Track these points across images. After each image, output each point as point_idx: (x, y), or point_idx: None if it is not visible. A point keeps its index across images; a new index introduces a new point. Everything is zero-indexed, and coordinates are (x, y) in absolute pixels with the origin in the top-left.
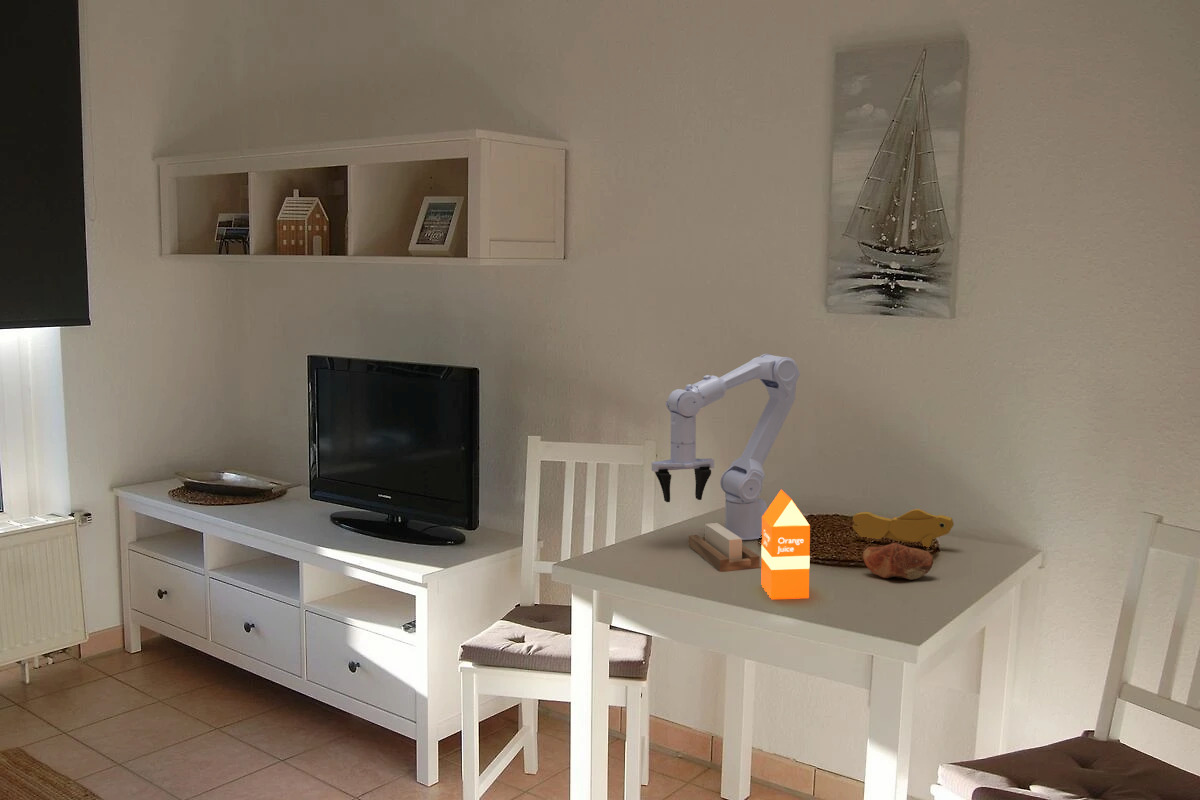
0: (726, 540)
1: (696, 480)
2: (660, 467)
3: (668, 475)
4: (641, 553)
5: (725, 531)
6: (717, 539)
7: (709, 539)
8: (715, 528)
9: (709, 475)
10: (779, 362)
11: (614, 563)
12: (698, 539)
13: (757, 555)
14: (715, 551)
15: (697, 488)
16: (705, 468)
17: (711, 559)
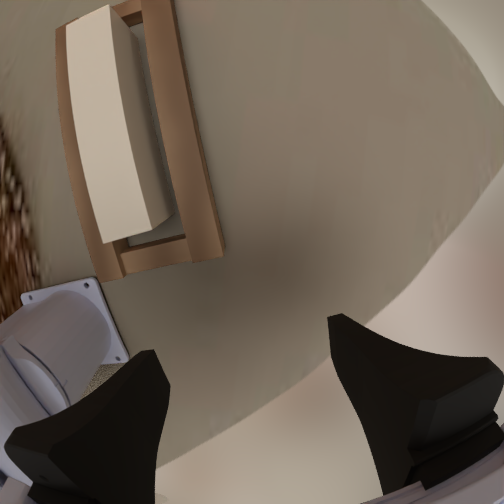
0: (113, 24)
1: (147, 459)
2: (485, 472)
3: (453, 384)
4: (379, 182)
5: (89, 107)
6: (130, 99)
7: (153, 175)
8: (117, 152)
9: (28, 426)
10: None
11: (443, 109)
12: (192, 199)
13: (57, 34)
14: (158, 51)
15: (148, 411)
16: (53, 494)
17: (179, 43)
